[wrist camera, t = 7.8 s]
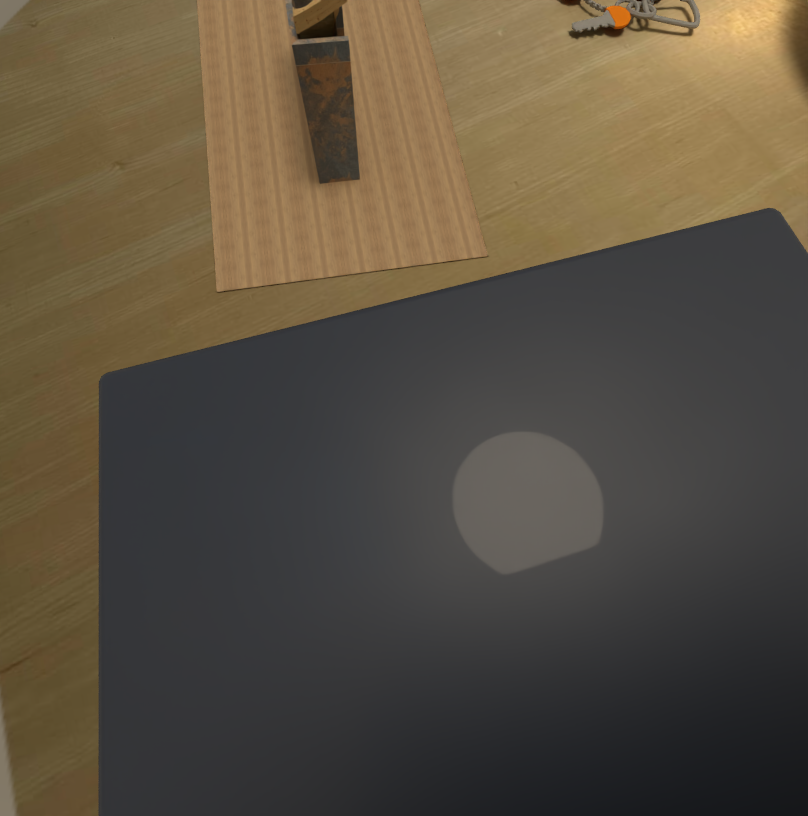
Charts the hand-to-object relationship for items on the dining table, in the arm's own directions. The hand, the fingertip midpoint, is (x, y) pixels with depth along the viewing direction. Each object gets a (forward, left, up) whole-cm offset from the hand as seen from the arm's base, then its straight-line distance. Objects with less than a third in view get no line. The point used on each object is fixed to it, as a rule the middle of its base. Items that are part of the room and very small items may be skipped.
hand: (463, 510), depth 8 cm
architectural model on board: (+26, +5, -12) cm, 29 cm away
